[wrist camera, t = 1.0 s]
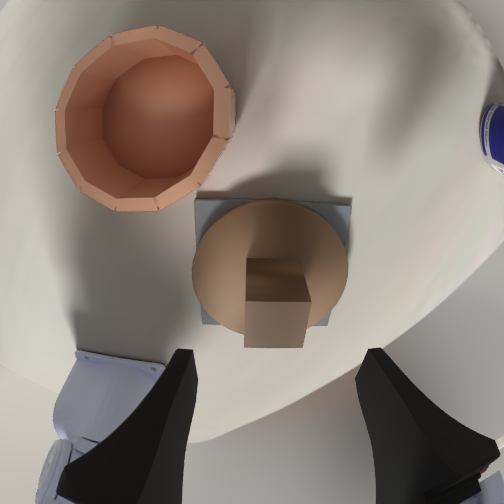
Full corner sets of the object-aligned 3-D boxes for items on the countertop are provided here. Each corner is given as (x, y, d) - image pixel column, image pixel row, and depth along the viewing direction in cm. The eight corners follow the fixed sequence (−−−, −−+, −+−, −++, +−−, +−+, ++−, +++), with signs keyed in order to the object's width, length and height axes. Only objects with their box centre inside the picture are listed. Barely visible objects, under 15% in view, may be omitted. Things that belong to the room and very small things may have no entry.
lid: (199, 325, 20) (189, 380, 15) (190, 196, 15) (166, 232, 11) (329, 327, 20) (344, 380, 15) (355, 203, 16) (392, 240, 11)
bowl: (105, 187, 15) (65, 213, 11) (101, 61, 12) (57, 51, 8) (234, 185, 15) (228, 211, 11) (238, 45, 12) (233, 19, 8)
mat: (203, 320, 20) (202, 324, 20) (195, 198, 16) (194, 200, 15) (326, 322, 20) (327, 325, 20) (349, 204, 16) (351, 206, 16)
